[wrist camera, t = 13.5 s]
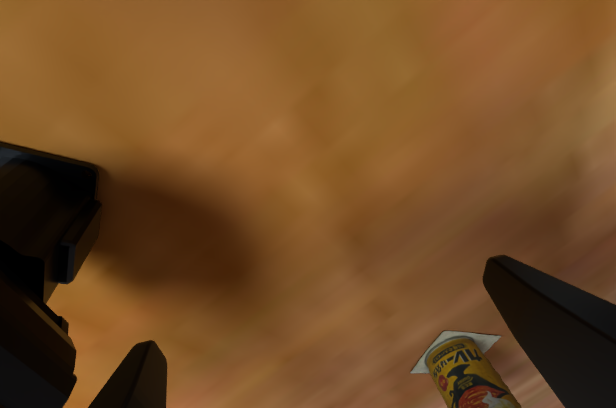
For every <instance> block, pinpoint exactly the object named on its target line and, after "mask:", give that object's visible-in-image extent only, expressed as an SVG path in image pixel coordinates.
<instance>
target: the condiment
mask: <svg viewBox="0 0 616 408" xmlns="http://www.w3.org/2000/svg"><path fill="white" fill-rule="evenodd" d="M500 337H501V336H494V335H484V334H483V335H481V334H475V333H467V332H457V331H454V332H453V331H443V332H442V333H441V335H440V336H439V337H438V338H437V339H436V341H435V342H433V344H432V345H431V346H430V347H429V348H428V350H427V351H426V352H425V354H424V355H423V356H422V357H421V359H420V360H419V361H418V363H417V365H416V366H415V367H414V369H413V370H412V371H411V372H410V373H425V374H426V373H430V374H431V376H432V379H433V380H434V382H435V384H436V385H437V388H438V390H439V391H440V393H441V395H442V397H443V399H444V401H445V403H446V405H447V407H448V408H521V405H520V404H519V403H518V402H517V400H516V399H515V397H514V396H513V395H512V393H511V392H510V390H509V388H508V386H507V385H506V384H505V383H504V382H503V381H502V379H501V377H500V375H499V374H498V373H497V372H496V371H495V369H494V368H493V367H492V365H491V363H490V362H489V360H488V359H487V358H486V357H485V356H484V353H485V352H486V351H487V350H489V348H491V346H492V345H493V344H494V343H495V342H496V341H497V340H498V339H499V338H500Z"/></svg>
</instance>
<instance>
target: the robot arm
mask: <svg viewBox="0 0 616 408" xmlns="http://www.w3.org/2000/svg"><path fill="white" fill-rule="evenodd" d="M84 171H88V172H90V173H91V175H92V176H88V175H86V174H85V173H84ZM98 179H99V171H98V169H97V168H96V167H95V166H94V165H91V164H88V163H84V162H80V161H76V160H71V159H67V158H63V157H59V156H55V155H50V154H46V153H42V152H38V151H34V150H29V149H25V148H21V147H17V146H13V145H8V144H4V143H0V408H63V406H64V405H65V403H66V402H67V400H68V398H69V396H70V394H71V392H72V390H73V388H74V386H75V383H76V381H77V377H76V375H75V374H73V372H74V367H75V359H76V349H75V347H74V344H73V342H72V340H71V338H70V337H69V336H68V326H69V324H68V322H67V321H66V320H65V319H64V318H63V317H62V316H57V315H56V314H55V313H54V312H53V311H52V310H51V309H50V308H49V307H48V306H47V305H46V303H47V301H48V300H49V298H50V296H51V295H52V293H53V291H54V290H55V288H56V287H57V285H58V283H60V284H69V283H70V282H72V281H73V280H74V278H75V277H76V275H77V273H78V271H79V269H80V268H81V266H82V264H83V262H84V261H85V259H86V257H87V255H88V253H89V252H90V250H91V248H92V246H93V245H94V243H95V241H96V239H97V237H98V233H99V225H100V217H101V209H102V204H101V203H100V201H99V200H96V196H97V188H98ZM483 284H484V286H485V288H486V290H487V292H488V293H489V295H490V297H491V299H492V300H493V302H494V304H495V305H496V307H497V309H498V311H499V312H500V314H501V316H502V317H503V319H504V321H505V323H506V324H507V326H508V328H509V329H510V331H511V333H512V334H513V336H514V337H515V339H516V340H517V342H518V343H519V345H520V346H521V347H522V349H523V350H524V351H525V353H526V354H527V356H528V357H529V358H530V360H531V361H532V363H533V364H534V365H535V367H536V368H537V369H538V371H539V372H540V374H541V375H542V376H543V378H544V379H545V380H546V382H547V383H548V385H549V386H550V387H551V389H552V390H553V392H554V393H555V394H556V396H557V397H558V398H559V400H560V401H561V403H562V404H563V405H564V407H565V408H616V305H615V304H612V303H610V302H608V301H606V300H603V299H601V298H599V297H597V296H595V295H592V294H590V293H588V292H586V291H584V290H581V289H579V288H577V287H575V286H573V285H570V284H568V283H566V282H564V281H561V280H559V279H557V278H555V277H553V276H550V275H548V274H546V273H544V272H542V271H539V270H537V269H535V268H533V267H531V266H528V265H526V264H524V263H522V262H519V261H517V260H515V259H513V258H511V257H508V256H506V255H498V256H494V257H490V258H489V259H488V260H487V262H486V266H485V270H484V274H483ZM166 390H167V361H166V358H165V356H164V355H163V353H162V352H161V350H160V349H159V347H158V346H157V344H156V343H155V342H154V341H152V340H149V341H145V342H141V343H138V344H136V345H135V346H133V348H132V349H131V350H130V352H129V353H128V354H127V356H126V357H125V358H124V360H123V361H122V362H121V364H120V365H119V366H118V368H117V369H116V370H115V372H114V373H113V374H112V376H111V377H110V379H109V380H108V381H107V383H106V384H105V385H104V387H103V388H102V389H101V391H100V392H99V393H98V395H97V396H96V397H95V399H94V400H93V401H92V403H91V404H90V405H89V407H88V408H166Z"/></svg>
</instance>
